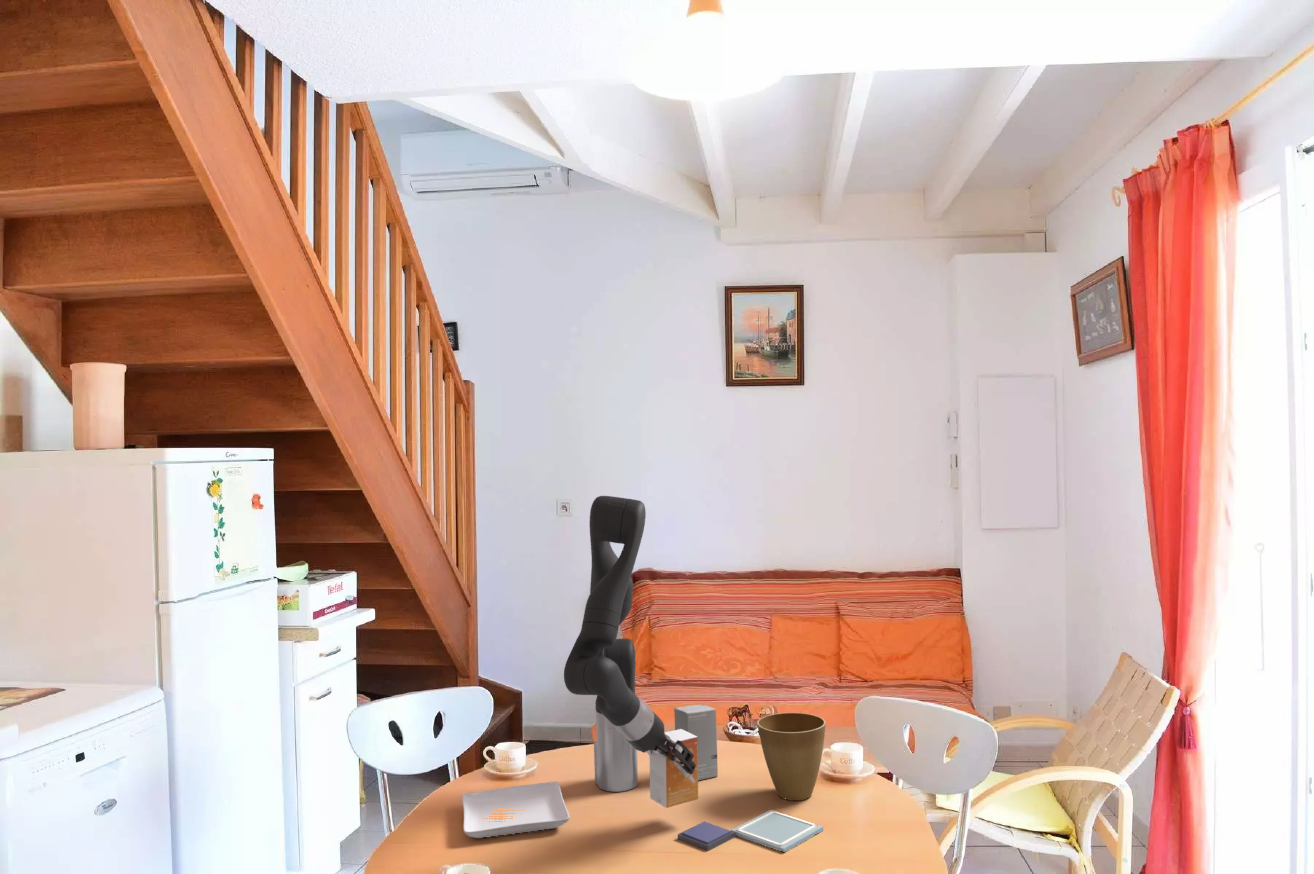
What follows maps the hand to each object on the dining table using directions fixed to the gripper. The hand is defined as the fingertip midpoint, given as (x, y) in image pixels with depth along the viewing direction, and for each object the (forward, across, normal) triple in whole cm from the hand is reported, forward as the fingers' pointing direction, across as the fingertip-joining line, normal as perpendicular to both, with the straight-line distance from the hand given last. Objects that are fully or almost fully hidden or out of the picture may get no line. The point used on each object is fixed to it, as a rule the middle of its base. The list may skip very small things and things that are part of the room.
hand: (678, 765), depth 186 cm
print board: (+14, -18, +2) cm, 23 cm away
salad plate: (-7, +28, +24) cm, 37 cm away
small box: (+4, 0, +6) cm, 7 cm away
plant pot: (+27, -9, -10) cm, 30 cm away
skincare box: (+24, +15, -7) cm, 29 cm away
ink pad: (+6, -9, +10) cm, 15 cm away
